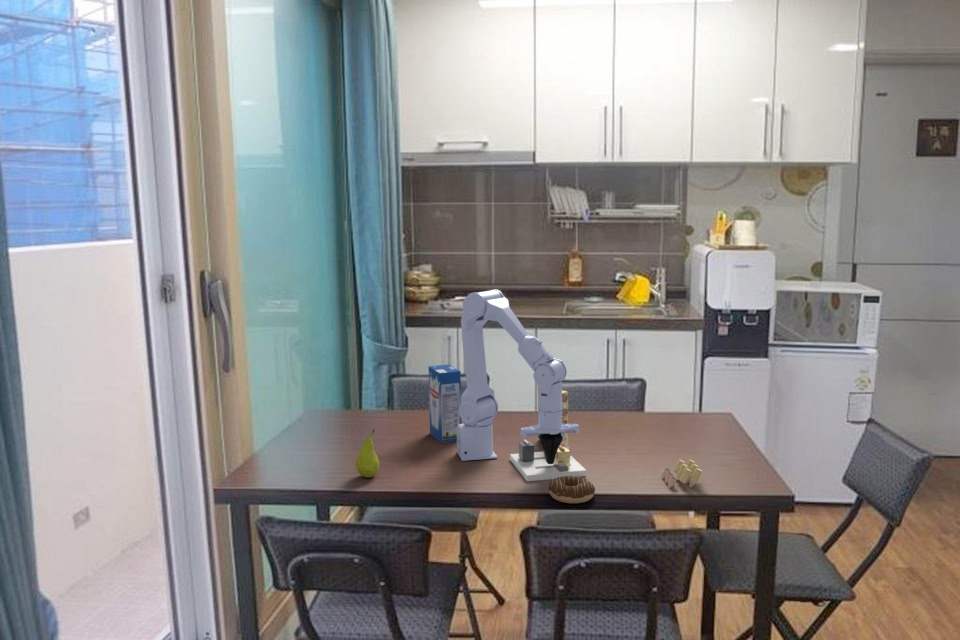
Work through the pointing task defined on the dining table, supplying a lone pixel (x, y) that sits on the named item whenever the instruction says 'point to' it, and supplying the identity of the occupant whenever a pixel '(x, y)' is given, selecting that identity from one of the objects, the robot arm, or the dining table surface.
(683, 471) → the ammunition
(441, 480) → the dining table surface
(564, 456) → the brass slider
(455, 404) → the milk carton
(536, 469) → the panel
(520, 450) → the gray slider
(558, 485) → the donut
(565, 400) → the candy box
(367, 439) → the fruit
